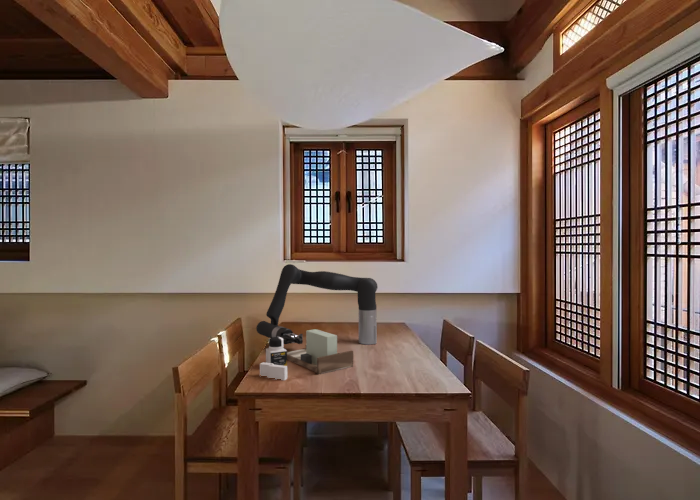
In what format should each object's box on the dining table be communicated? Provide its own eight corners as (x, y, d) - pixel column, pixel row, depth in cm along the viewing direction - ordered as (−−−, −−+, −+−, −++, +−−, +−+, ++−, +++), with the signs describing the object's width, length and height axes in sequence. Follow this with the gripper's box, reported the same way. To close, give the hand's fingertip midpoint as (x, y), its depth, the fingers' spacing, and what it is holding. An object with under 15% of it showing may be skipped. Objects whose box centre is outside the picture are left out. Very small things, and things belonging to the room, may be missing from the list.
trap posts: (300, 363, 180) (300, 354, 180) (329, 357, 189) (329, 348, 189) (305, 366, 177) (305, 356, 177) (334, 359, 186) (334, 350, 186)
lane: (275, 355, 195) (275, 341, 195) (307, 349, 206) (307, 336, 205) (318, 374, 167) (318, 358, 167) (353, 366, 178) (353, 351, 177)
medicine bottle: (270, 369, 174) (270, 340, 173) (265, 365, 180) (265, 336, 180) (287, 367, 177) (287, 338, 177) (281, 362, 183) (281, 335, 183)
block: (306, 360, 185) (306, 330, 185) (315, 358, 188) (315, 329, 188) (327, 368, 173) (327, 337, 172) (337, 366, 176) (337, 335, 175)
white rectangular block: (294, 381, 161) (294, 366, 161) (266, 386, 155) (266, 371, 155) (279, 370, 174) (279, 356, 174) (252, 375, 168) (252, 361, 168)
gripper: (270, 329, 203) (288, 335, 189) (294, 325, 211) (313, 331, 197) (270, 344, 203) (288, 352, 189) (294, 340, 211) (313, 347, 198)
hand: (301, 341), depth 193 cm, fingers closed
